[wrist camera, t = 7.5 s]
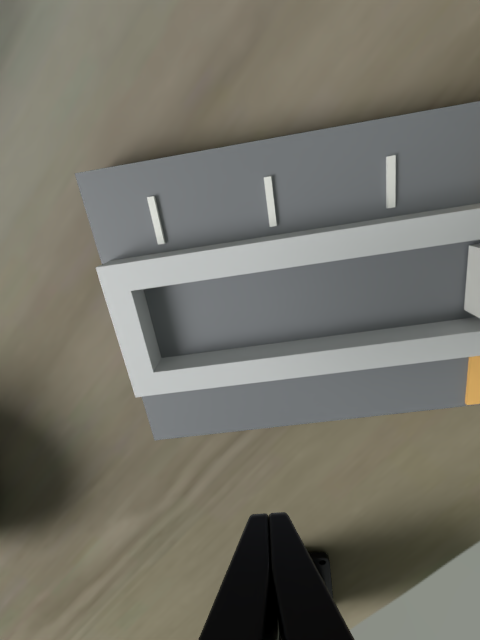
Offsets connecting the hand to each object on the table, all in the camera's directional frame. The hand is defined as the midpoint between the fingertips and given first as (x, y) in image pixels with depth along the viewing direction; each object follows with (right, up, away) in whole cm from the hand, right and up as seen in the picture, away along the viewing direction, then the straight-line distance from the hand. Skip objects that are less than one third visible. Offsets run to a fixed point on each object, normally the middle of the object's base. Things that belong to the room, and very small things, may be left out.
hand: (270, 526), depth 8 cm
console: (+6, +7, +10) cm, 14 cm away
